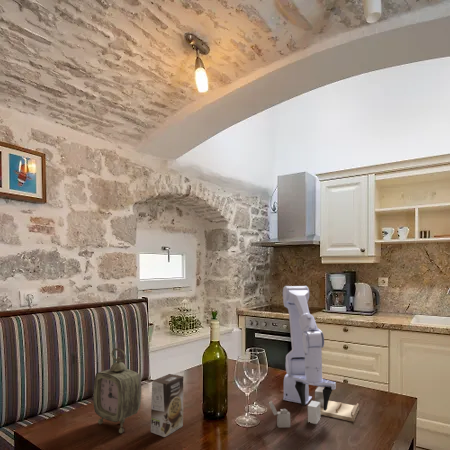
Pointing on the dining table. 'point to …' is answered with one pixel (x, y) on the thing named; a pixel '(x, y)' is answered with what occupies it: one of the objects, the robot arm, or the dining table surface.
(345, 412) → the cream tray
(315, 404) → the white rectangular box
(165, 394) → the coffee box
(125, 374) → the tabletop clock
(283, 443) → the dining table surface
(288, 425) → the lighter
